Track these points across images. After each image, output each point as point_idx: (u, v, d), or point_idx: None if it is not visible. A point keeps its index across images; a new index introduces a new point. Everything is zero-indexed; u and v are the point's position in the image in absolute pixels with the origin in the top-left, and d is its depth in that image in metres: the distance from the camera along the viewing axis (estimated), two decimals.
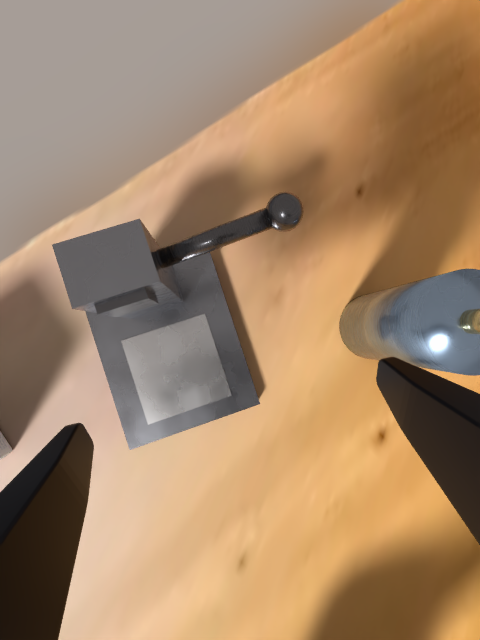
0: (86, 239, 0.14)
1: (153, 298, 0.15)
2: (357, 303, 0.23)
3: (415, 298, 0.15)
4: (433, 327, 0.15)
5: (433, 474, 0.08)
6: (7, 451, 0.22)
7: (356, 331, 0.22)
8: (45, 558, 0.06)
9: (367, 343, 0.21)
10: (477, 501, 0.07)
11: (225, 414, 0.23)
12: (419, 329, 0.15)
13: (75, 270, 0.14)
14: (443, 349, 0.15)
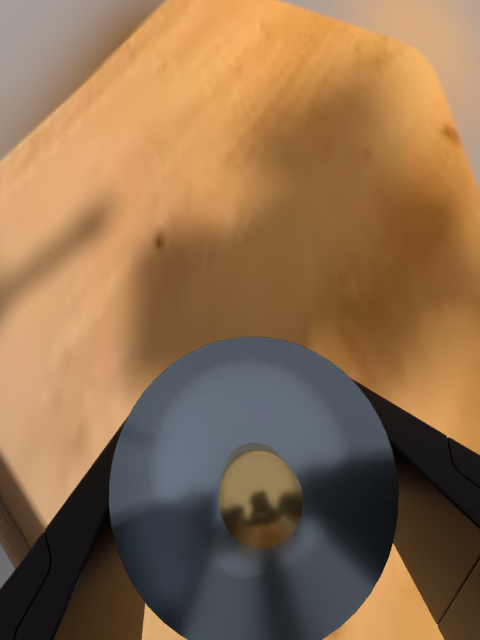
0: None
1: None
2: None
3: None
4: (154, 540, 0.05)
5: None
6: None
7: None
8: None
9: None
10: (399, 521, 0.07)
11: None
12: (124, 560, 0.05)
13: None
14: (201, 599, 0.05)
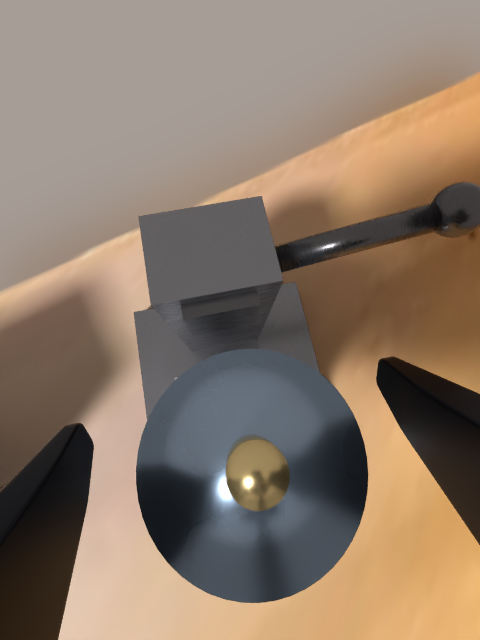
0: (185, 214, 0.10)
1: None
2: None
3: None
4: (173, 512, 0.07)
5: (433, 474, 0.08)
6: None
7: None
8: (45, 558, 0.06)
9: None
10: (477, 501, 0.07)
11: None
12: (148, 528, 0.07)
13: (164, 252, 0.09)
14: (210, 557, 0.06)
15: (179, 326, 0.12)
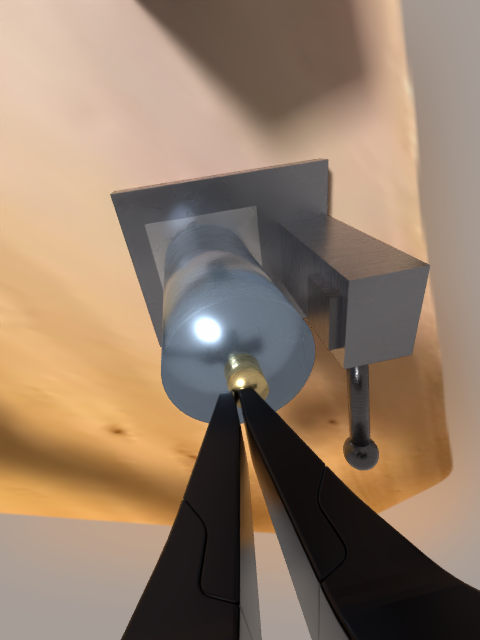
0: (416, 303, 0.11)
1: None
2: (224, 234, 0.16)
3: (242, 287, 0.10)
4: (207, 328, 0.09)
5: None
6: None
7: (183, 247, 0.15)
8: (247, 509, 0.07)
9: (172, 266, 0.14)
10: (286, 550, 0.06)
11: (150, 313, 0.20)
12: (195, 313, 0.09)
13: (390, 288, 0.11)
14: (183, 355, 0.09)
15: (316, 261, 0.13)
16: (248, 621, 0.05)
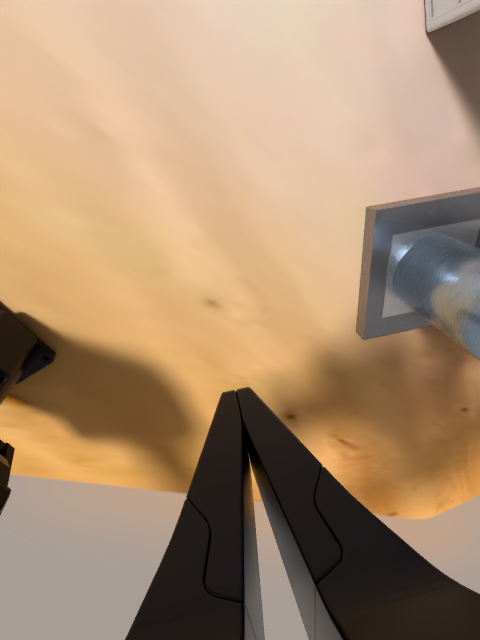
0: None
1: None
2: (471, 245, 0.19)
3: None
4: None
5: (267, 514, 0.08)
6: (437, 28, 0.15)
7: (450, 257, 0.18)
8: (250, 508, 0.07)
9: (450, 274, 0.17)
10: (283, 550, 0.06)
11: (367, 310, 0.23)
12: None
13: None
14: None
15: None
16: (252, 620, 0.05)
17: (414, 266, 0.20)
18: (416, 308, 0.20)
